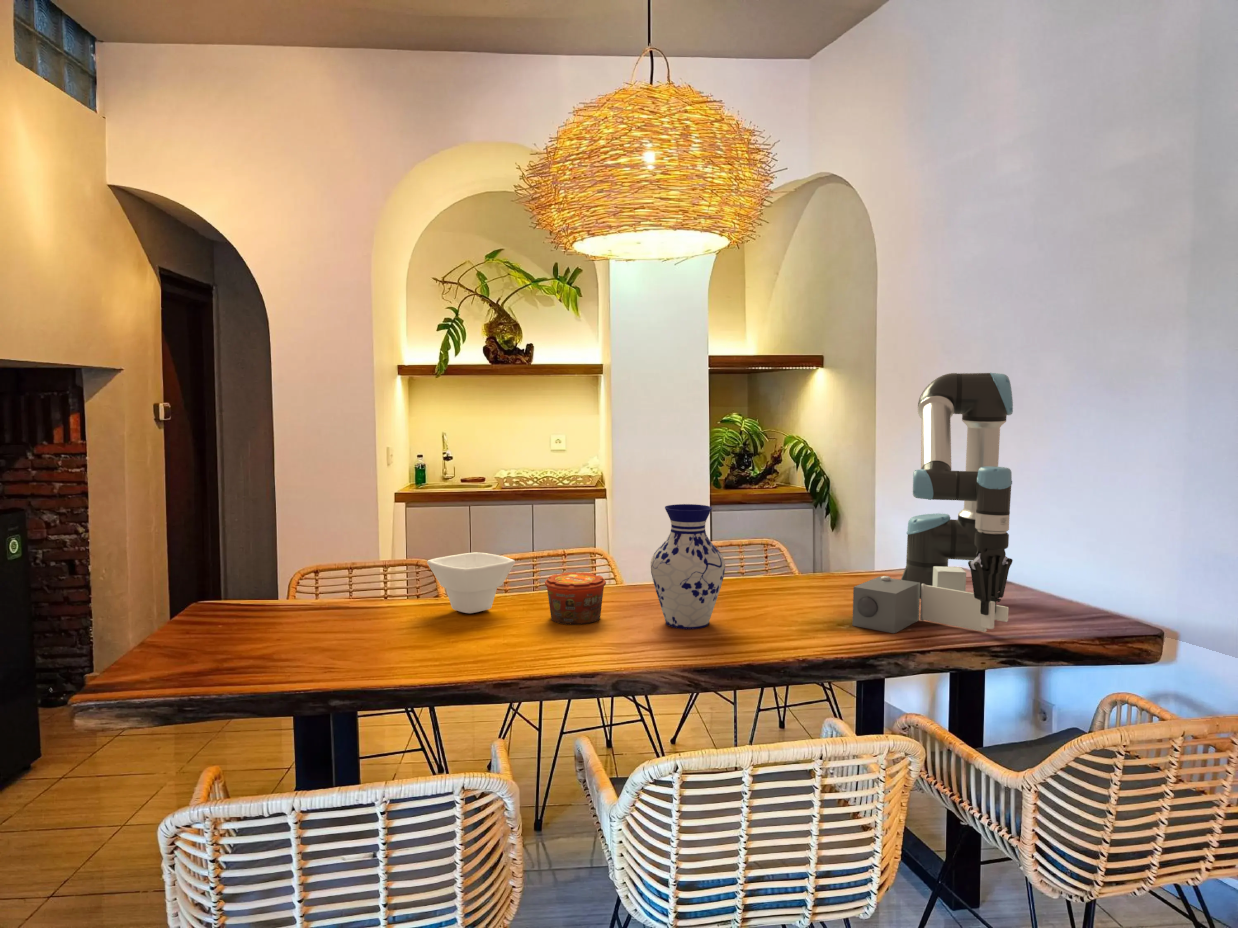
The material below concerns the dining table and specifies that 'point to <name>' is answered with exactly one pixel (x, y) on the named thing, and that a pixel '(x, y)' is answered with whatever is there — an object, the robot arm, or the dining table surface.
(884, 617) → the camera box
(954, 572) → the supplement box
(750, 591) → the dining table surface
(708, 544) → the vase
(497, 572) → the bowl
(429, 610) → the dining table surface
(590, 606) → the food container
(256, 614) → the dining table surface
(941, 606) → the side door
